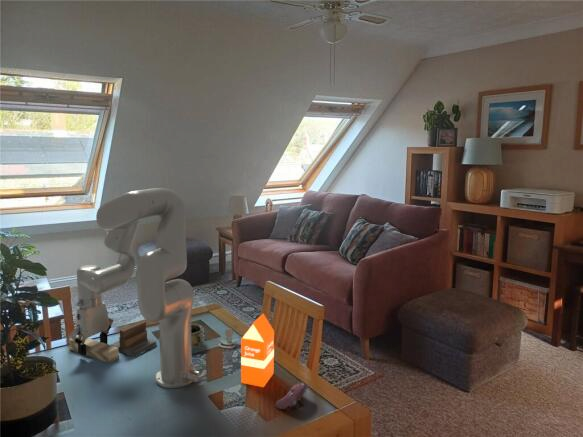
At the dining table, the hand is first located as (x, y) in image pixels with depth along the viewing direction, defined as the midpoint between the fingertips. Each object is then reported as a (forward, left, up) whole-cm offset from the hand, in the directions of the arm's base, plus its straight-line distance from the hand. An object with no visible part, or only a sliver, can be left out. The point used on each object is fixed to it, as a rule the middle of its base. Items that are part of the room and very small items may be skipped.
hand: (93, 349), depth 152 cm
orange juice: (-58, -16, -2) cm, 60 cm away
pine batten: (0, 0, -2) cm, 2 cm away
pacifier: (-36, -29, -2) cm, 46 cm away
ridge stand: (-8, -11, -2) cm, 13 cm away
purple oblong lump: (-74, -9, -2) cm, 75 cm away
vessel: (-24, -23, -2) cm, 33 cm away
